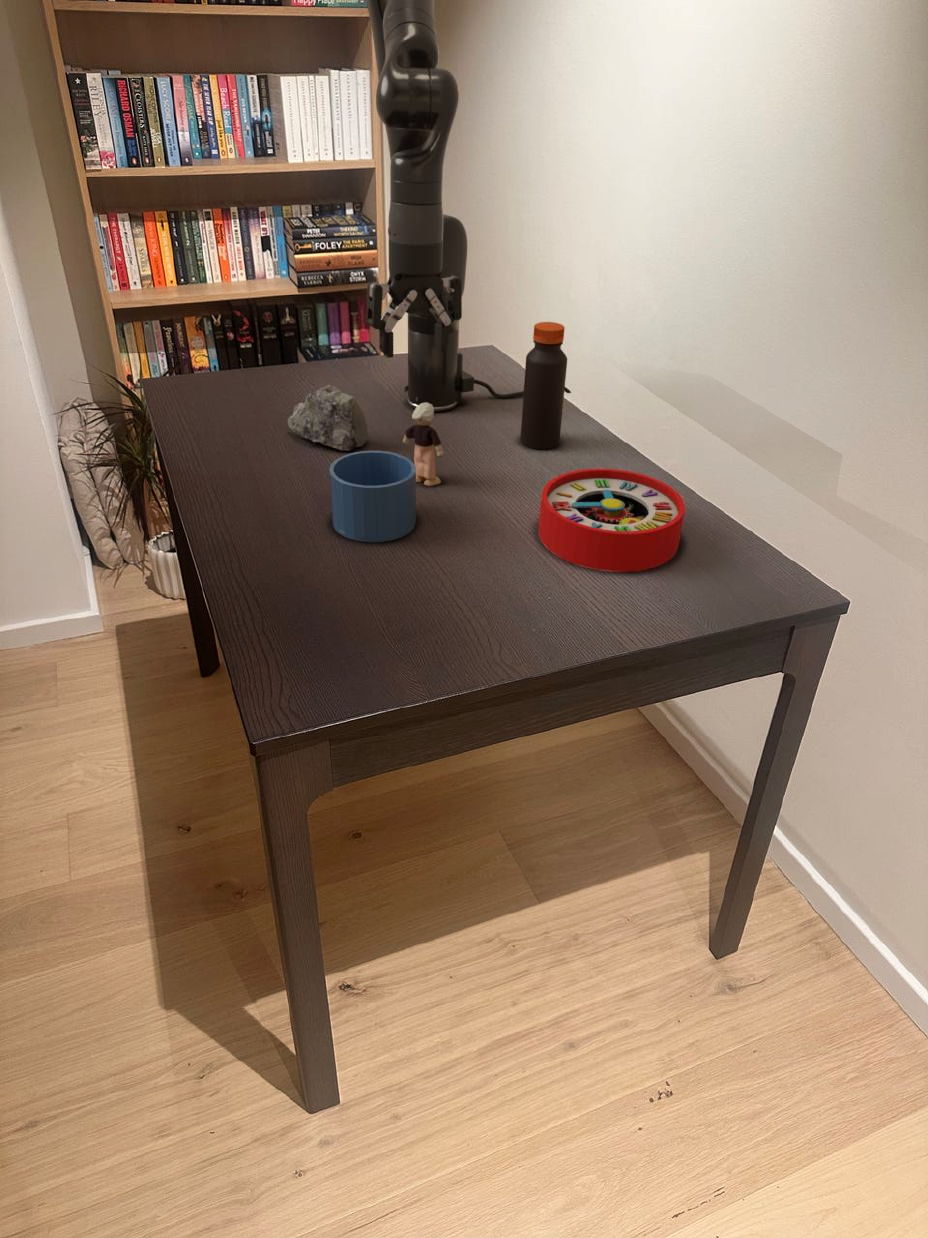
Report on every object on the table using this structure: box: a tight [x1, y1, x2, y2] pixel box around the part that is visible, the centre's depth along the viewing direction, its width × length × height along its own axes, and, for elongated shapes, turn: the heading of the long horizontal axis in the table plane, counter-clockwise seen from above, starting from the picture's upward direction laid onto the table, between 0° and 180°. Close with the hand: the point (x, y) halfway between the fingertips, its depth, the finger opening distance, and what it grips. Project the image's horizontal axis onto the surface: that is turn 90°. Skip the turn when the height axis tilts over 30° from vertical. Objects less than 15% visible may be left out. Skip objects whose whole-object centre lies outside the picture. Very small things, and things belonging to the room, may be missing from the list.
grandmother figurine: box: [402, 402, 445, 487], centre depth 140 cm, size 8×4×13 cm, turn 65°
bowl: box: [328, 450, 417, 543], centre depth 130 cm, size 12×12×8 cm
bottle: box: [519, 321, 568, 450], centre depth 152 cm, size 7×7×20 cm
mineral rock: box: [287, 384, 369, 452], centre depth 153 cm, size 13×11×10 cm
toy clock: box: [538, 468, 686, 573], centre depth 129 cm, size 20×6×20 cm
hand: (414, 352), depth 134 cm, fingers open, 8 cm apart
